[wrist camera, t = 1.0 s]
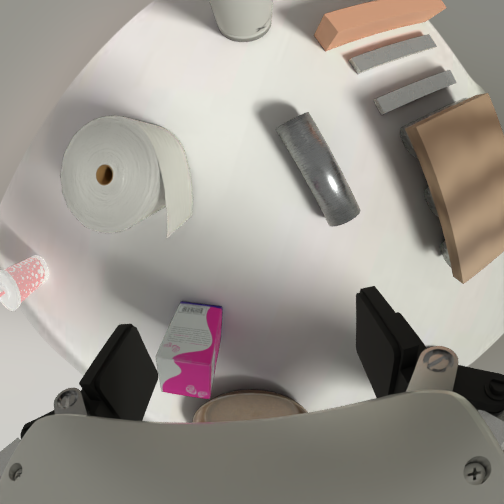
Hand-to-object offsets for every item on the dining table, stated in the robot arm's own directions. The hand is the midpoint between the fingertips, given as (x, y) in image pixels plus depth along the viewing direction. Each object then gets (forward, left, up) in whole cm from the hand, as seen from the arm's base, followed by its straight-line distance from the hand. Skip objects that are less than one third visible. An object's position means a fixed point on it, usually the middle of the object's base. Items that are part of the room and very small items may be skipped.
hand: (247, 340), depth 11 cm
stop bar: (+15, -27, -23) cm, 38 cm away
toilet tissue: (+12, +7, -23) cm, 27 cm away
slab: (-8, -27, -19) cm, 34 cm away
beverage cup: (+12, +33, -23) cm, 42 cm away
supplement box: (-8, +13, -23) cm, 28 cm away
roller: (+2, -10, -23) cm, 25 cm away
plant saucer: (-30, +18, -23) cm, 42 cm away
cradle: (+8, -27, -23) cm, 36 cm away
